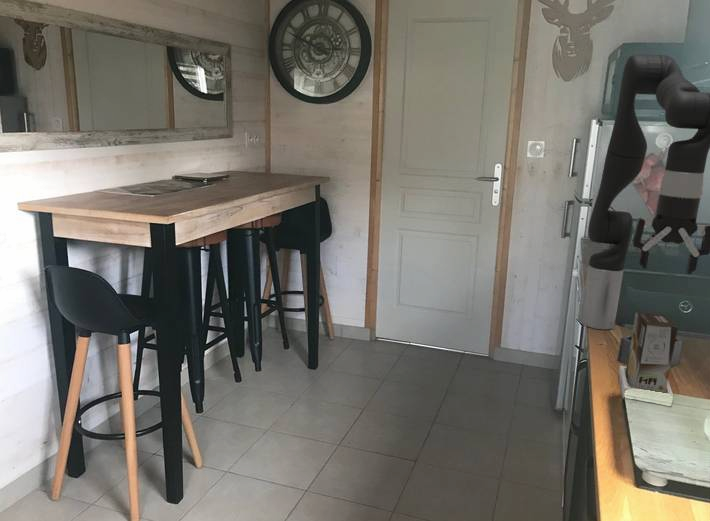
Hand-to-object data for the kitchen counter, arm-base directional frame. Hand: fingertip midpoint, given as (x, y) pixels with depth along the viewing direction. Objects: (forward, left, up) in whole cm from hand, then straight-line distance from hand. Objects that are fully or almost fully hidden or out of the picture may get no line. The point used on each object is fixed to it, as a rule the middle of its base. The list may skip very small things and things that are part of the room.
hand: (665, 270), depth 127 cm
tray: (0, 0, -28) cm, 28 cm away
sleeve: (-7, +17, -28) cm, 33 cm away
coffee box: (0, 0, -27) cm, 27 cm away
